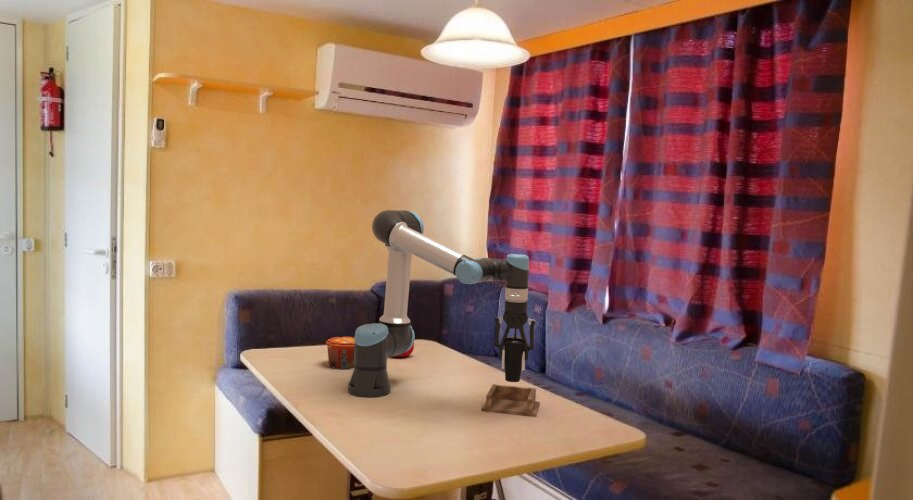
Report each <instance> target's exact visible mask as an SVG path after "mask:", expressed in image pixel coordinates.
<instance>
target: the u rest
mask: <svg viewBox="0 0 913 500" xmlns="http://www.w3.org/2000/svg"><path fill="white" fill-rule="evenodd" d="M536 393H537V388H536V387H534V388H533V387H524V386H515V385H506V384H496V383H494V384H492V386H491V387H490V389H489V391H488V392H487V394H486V399H485V401H484V403H483V404H482V406H481V409H480V410H481V411H480V412H486V413H487V412H488V413H497V414H508V415H515V416H517V415H518V416H523V417H524V416H525V417H526V416H527V417H537V414H538V411H539V408H540V404H541V403H540V401H538V400H536V397H537V396H536V395H537V394H536Z"/></svg>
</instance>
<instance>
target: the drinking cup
mask: <svg viewBox="0 0 913 500" xmlns="http://www.w3.org/2000/svg"><path fill="white" fill-rule="evenodd" d="M517 331H518V329H516V328H514V333H513V334H514V336H507V338H506V340H504V342H505V343H504V348H505V368H504V379H505V381H506V382H509V383H518V382H520V380H521V375H522V356H523V351H524V350H525V349H524V345H525V343H526V342H524V341H523V340H522V338H521V336H517Z"/></svg>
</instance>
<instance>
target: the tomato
mask: <svg viewBox="0 0 913 500" xmlns="http://www.w3.org/2000/svg"><path fill="white" fill-rule="evenodd" d="M414 347H415V342H414V343H413V345H412V347H411V348H410V349H409V350H408V351H407V352H404V353H403V354H401V355H396V356H393V357H395V358H406V357H409V356H410V355H411V354H413V351H414V349H415V348H414Z"/></svg>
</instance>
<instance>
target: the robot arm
mask: <svg viewBox="0 0 913 500" xmlns="http://www.w3.org/2000/svg"><path fill="white" fill-rule="evenodd" d="M371 229H372V233H373V235H374V237H375V238H376V239H377V240H378V241H380V242H381V243H382V244H384V246H385V248H386V249H387V251H388V256H387V257H388V258H387V267H386V268H387V270H386V281H385V295H384V307H383V309H384V310H383V315H382V316H380V317H379V320H378V322H377V323H376V322H375V323H367V324H366V323H365V324H362V325H360V326H358V327H357V328H356V330H355V333H354V337H353V338H354V369H352V373H351V376H350V380H349V381H348V385H347V392H348V393H349V394H350V393H351V394H350V395H353V396H356V395H357V396H356V397H363V398H365V397H366V398H371V397H373V398H375V397H376V398H377V397H382V396H386V395H389V394H391V392H392V384H391V381H390V377H389V374H388V368H387V367H388V366H387V365H388V359H389V358H393V357H394V356H396V355H401V354H403V353H404V352H407V351H408V350H409V349H410V348H411V347H412V345H413V343H414V344H415V340H416V339H415V337H416V336H415V331H414V329H413V327H412V325H411V319H410V318H409V317H408V308H409V307H408V306H409V305H408V304H409V293H410V281H411V269H412V258H413V257H412V256H413V255H414V256H416V258H417V257H418V258H419V259H421V260H423V261H425V262H428V263H429V264H431V265H434V266H435V267H438V268H440V269H441V270H443V271H445V272H448V273H449V274H451V275H454V276H455V277H456V278H457V280H458V281H459V282H460V283H462V284H464V285H474V284H478V283H484V282H492V281H493V282H505V292H504V299H505V301H504V313H503V315H502V316H497V317H496V318H494V321H495V331H494V343H493V345H494V347H495V348H498V349H499V351H498V358H499V359H501V370H505V348H504V343H505V342H504V340H506V338H508V337H509V334H510V332H511V329H515V328H516V329H517V330H519V334H520V338H522V340H523V341H524V342H526V343H525V345H524V349H525V350H524V351H523V356H522V369H521V372H524V371H525V369H526V361H527V362H528V360H529V353H530V351H533V350H534V349H535V324H536V319H535V318H534V319H531V318H529V316H528V302H527V300H528V297H529V296H528V295H529V276H530V258H529V256H528V255H526V254H520V253H519V254H515V253H510V254H507V255H506V259H501V258H490V257H489V258H488V257H477V258H475V259H474V258H472V257H470V256H469V255H466V254H464V253H462V252H460V251H458V250H456V249H453V248H452V247H449V246H448V245H446V244H443V243H441V242H439V241H437V240H435V239H433V238H431V237H429V236H427V235H424V230H425V227H424V222H423V220H422V218H421V217H420V216H419V215H418V214H417V213H416V212H413V211H410V210H407V209H406V210H403V209H402V210H401V209H400V210H396V209H395V210H391V209H386V210H382V211H381V212H378V214H377V215H376V216H375V217H374V218H373V220H372V225H371ZM503 321H504V323H505V324H506V327H505V330H504V334H503V336H502V339H501V341H500V334H501V326H502V323H503ZM526 323H528V326H529V344H528V339H527V335H526V331H525V327H524V326H525V324H526Z"/></svg>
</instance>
